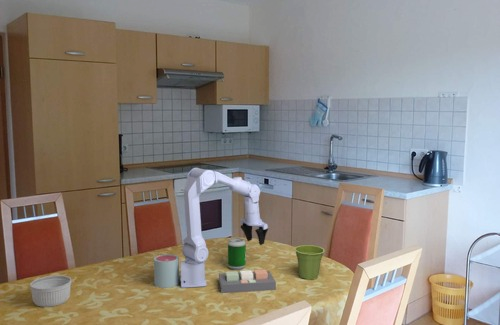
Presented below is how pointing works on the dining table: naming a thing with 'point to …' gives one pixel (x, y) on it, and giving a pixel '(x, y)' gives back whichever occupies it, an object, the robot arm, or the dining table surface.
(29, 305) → the dining table surface
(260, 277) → the terracotta key
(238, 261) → the soda can
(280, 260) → the dining table surface
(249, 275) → the cream key
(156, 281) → the mug
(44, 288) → the ramekin
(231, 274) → the sage key
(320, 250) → the plant pot
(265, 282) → the keypad
